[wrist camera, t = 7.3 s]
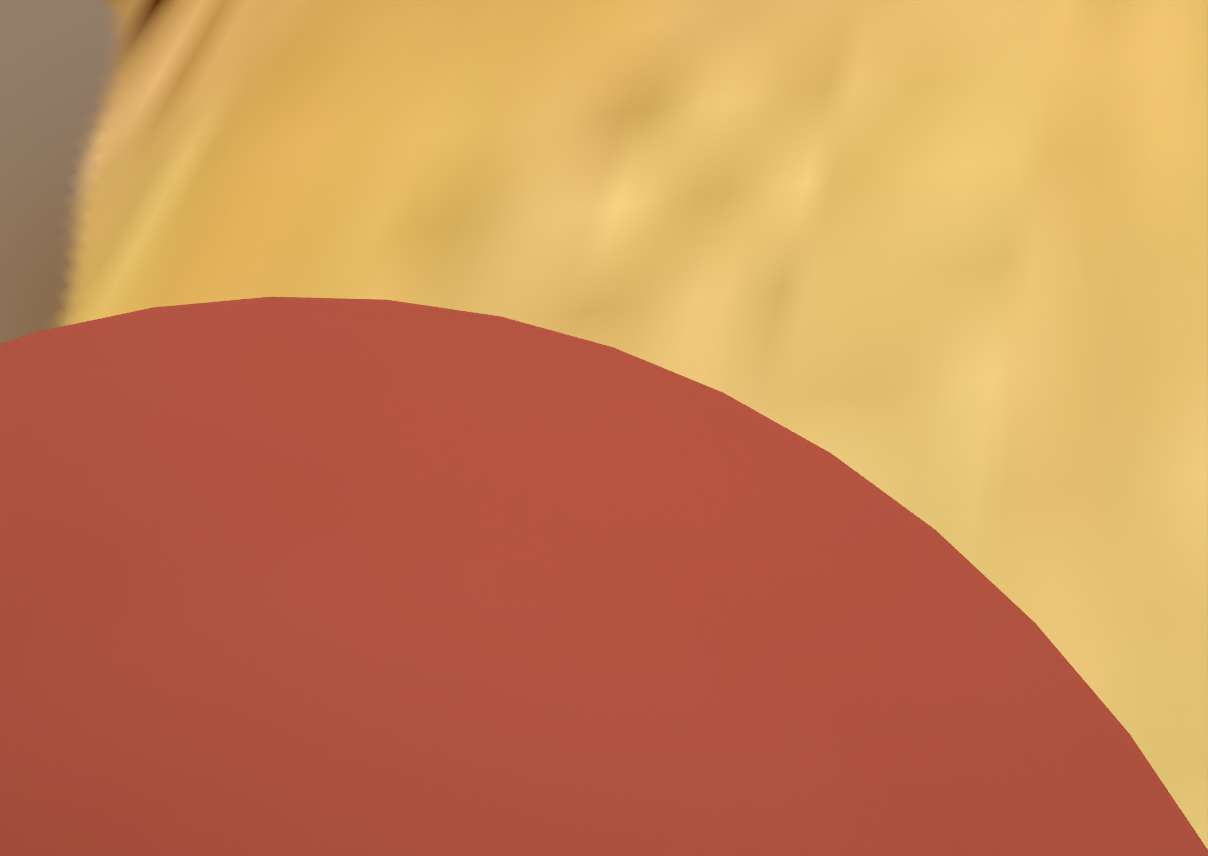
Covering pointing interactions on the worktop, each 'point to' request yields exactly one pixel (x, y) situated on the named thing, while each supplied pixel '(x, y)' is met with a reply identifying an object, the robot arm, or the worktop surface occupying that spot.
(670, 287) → the worktop surface
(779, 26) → the worktop surface
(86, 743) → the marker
